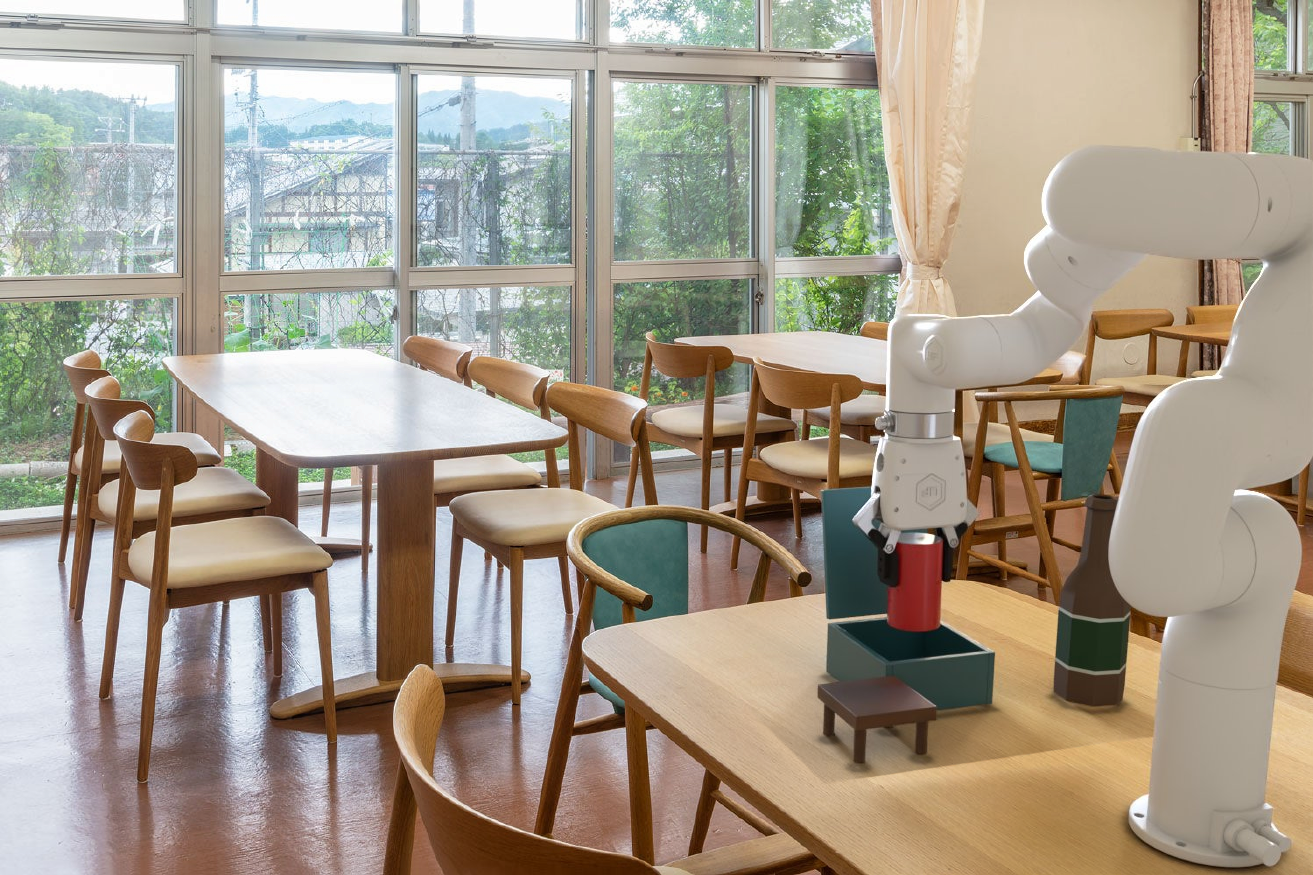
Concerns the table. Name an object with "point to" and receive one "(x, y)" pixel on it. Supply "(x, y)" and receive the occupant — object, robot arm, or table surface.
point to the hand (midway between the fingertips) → (914, 580)
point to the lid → (851, 557)
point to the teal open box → (914, 660)
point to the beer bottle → (1092, 619)
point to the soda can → (917, 583)
